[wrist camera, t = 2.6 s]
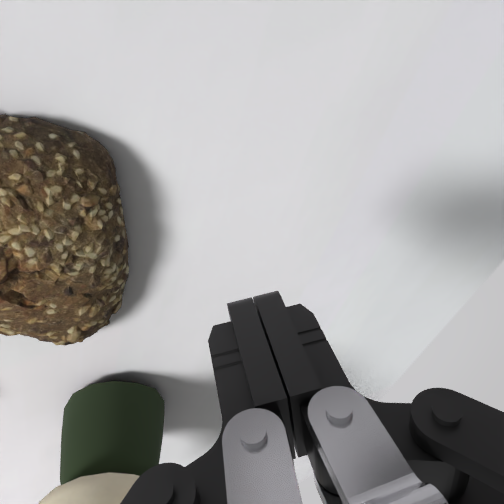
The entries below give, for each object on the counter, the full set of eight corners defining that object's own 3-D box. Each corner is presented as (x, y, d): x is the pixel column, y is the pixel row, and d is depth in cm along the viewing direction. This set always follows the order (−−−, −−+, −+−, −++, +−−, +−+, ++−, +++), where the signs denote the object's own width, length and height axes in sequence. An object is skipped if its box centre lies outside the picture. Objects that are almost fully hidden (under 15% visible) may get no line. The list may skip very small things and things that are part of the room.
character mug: (130, 461, 32) (119, 708, 21) (31, 443, 29) (-44, 722, 18) (204, 363, 28) (237, 602, 17) (99, 330, 25) (57, 596, 14)
